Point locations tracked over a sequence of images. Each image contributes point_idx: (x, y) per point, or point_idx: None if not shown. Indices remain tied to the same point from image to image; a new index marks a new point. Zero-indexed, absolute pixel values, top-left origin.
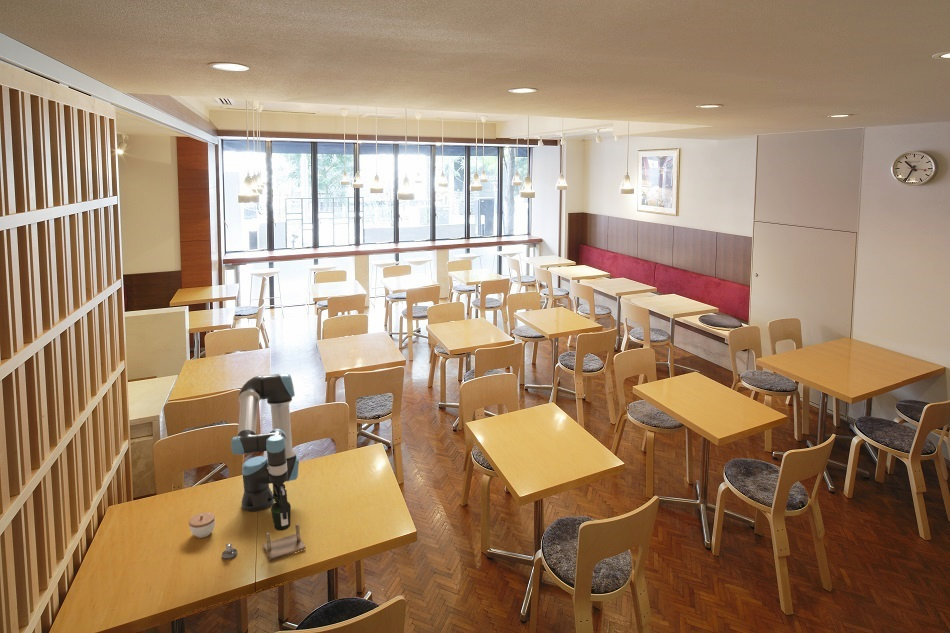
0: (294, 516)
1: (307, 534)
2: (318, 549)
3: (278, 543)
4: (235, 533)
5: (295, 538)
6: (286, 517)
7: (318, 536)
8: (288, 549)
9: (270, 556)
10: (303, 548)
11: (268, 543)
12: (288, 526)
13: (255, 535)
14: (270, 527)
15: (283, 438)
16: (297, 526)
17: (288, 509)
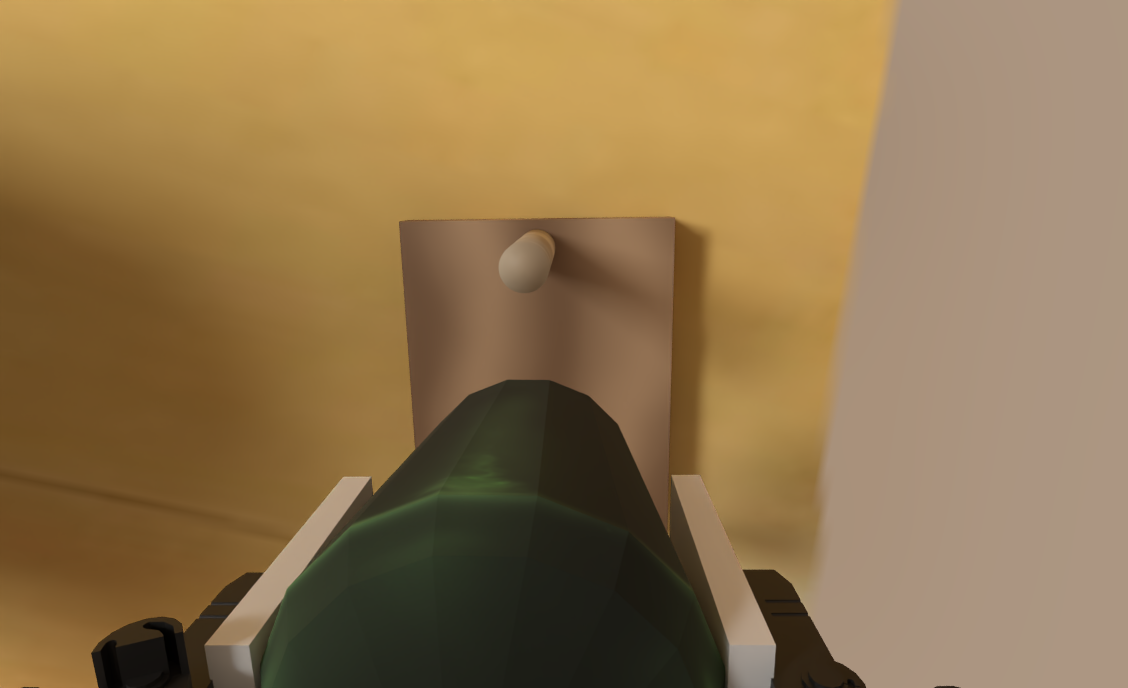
0: (35, 148)
1: (427, 124)
2: (733, 104)
3: None
4: None
5: (482, 263)
6: (796, 599)
7: (519, 31)
8: (624, 368)
9: None
10: (671, 237)
11: None
12: (618, 427)
13: (221, 534)
14: (146, 401)
15: None
16: (548, 272)
17: (680, 576)
